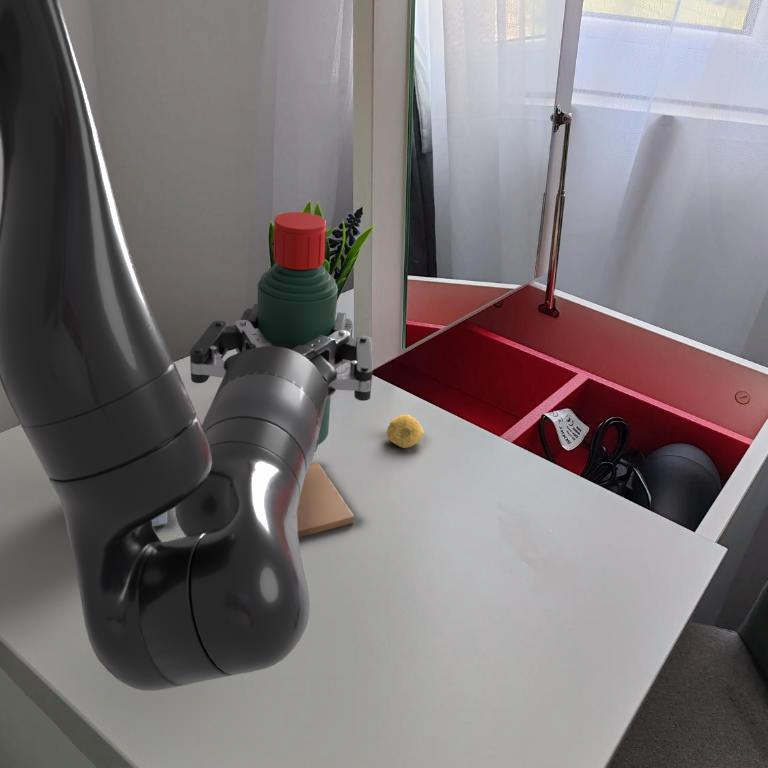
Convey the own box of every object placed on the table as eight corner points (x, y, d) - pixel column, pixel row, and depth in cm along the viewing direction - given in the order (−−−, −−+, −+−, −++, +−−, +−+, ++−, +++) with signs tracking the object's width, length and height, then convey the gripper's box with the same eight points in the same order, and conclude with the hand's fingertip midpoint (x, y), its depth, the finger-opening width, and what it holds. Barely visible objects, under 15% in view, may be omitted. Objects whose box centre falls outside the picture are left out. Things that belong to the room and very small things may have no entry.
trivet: (263, 547, 71) (263, 540, 70) (233, 487, 78) (233, 481, 77) (354, 523, 75) (354, 516, 74) (317, 468, 81) (318, 462, 81)
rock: (381, 438, 87) (383, 417, 85) (409, 428, 89) (411, 407, 88) (400, 454, 85) (402, 433, 83) (428, 443, 87) (431, 422, 85)
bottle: (284, 459, 67) (290, 247, 57) (242, 424, 71) (242, 220, 61) (342, 435, 71) (358, 232, 61) (300, 403, 74) (308, 208, 65)
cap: (293, 273, 60) (294, 232, 58) (263, 256, 62) (264, 216, 61) (333, 264, 62) (336, 224, 61) (303, 248, 65) (305, 209, 63)
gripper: (374, 387, 51) (387, 286, 66) (155, 364, 51) (216, 268, 66) (365, 479, 55) (379, 364, 69) (161, 458, 55) (217, 347, 70)
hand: (300, 318), depth 68 cm, fingers closed on bottle, 6 cm apart
